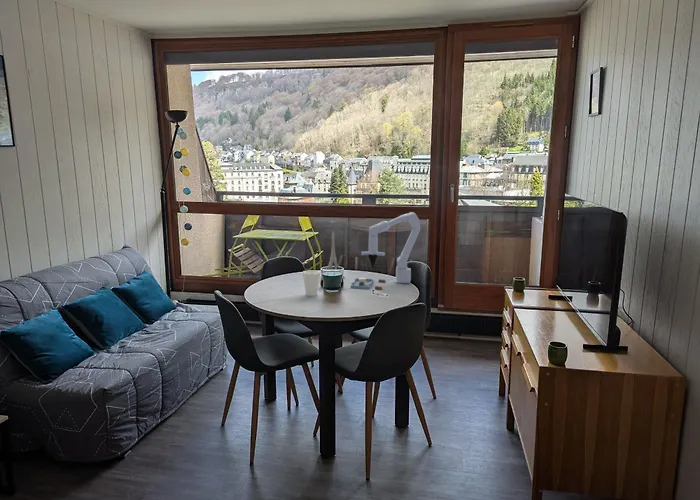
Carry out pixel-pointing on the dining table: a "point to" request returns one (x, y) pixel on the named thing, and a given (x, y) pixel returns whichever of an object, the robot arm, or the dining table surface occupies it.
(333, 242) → the eiffel tower
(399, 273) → the robot arm
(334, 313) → the dining table surface
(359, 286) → the tray
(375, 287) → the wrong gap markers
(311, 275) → the foam cup
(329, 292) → the dining table surface
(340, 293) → the dining table surface
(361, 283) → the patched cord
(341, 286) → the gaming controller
